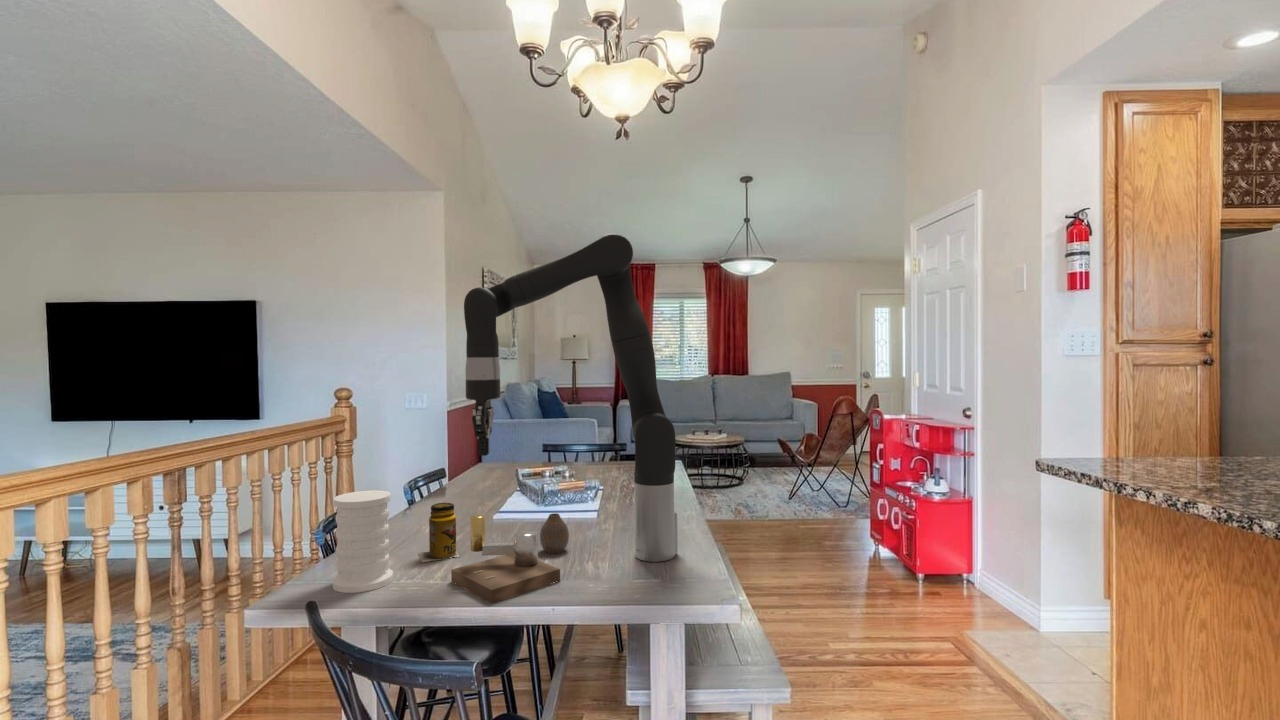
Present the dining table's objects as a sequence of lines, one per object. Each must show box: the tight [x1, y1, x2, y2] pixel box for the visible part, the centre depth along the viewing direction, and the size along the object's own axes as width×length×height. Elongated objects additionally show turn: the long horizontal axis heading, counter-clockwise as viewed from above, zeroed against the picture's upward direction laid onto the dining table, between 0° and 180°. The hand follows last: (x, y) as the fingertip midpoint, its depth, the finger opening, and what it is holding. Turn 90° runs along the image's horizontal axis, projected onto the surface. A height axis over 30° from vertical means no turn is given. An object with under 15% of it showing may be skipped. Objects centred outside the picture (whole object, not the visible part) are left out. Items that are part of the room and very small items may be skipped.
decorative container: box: [332, 489, 395, 594], centre depth 126 cm, size 12×12×18 cm
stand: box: [450, 555, 561, 604], centre depth 126 cm, size 16×16×3 cm
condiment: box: [418, 502, 461, 563], centre depth 143 cm, size 7×8×12 cm
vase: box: [539, 512, 570, 554], centre depth 145 cm, size 7×7×9 cm
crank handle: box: [469, 514, 539, 566], centre depth 129 cm, size 14×5×10 cm, turn 94°
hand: (483, 454), depth 136 cm, fingers closed
